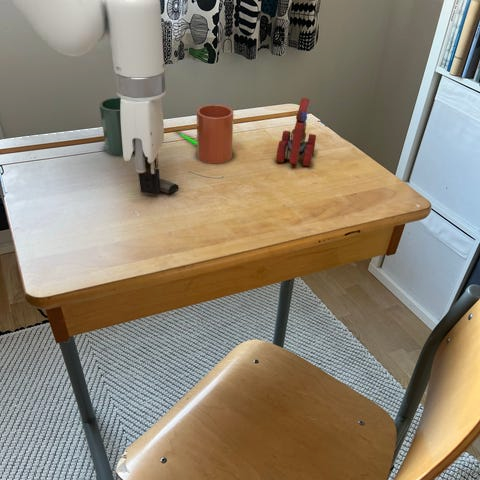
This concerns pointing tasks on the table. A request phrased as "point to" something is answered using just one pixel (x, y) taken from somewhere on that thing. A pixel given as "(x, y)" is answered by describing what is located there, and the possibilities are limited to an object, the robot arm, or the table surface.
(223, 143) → the cup
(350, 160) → the table surface
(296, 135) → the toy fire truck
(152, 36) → the robot arm
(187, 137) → the green marker pen
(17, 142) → the table surface
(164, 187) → the block
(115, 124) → the green cup
